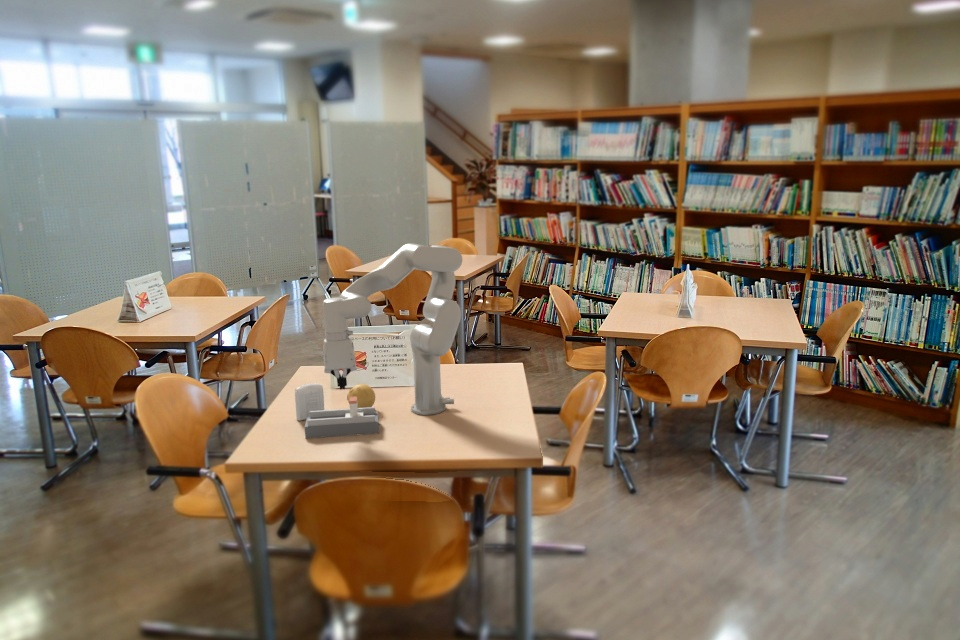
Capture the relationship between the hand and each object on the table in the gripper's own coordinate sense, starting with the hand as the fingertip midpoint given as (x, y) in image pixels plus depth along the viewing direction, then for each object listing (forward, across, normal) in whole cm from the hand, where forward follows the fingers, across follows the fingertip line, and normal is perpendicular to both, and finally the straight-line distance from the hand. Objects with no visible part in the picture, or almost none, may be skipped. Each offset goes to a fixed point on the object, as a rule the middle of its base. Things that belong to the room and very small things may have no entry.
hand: (342, 388), depth 243 cm
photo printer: (+15, +13, -14) cm, 25 cm away
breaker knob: (+11, -3, +1) cm, 11 cm away
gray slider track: (+15, +1, +1) cm, 15 cm away
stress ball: (+16, -5, -17) cm, 24 cm away
